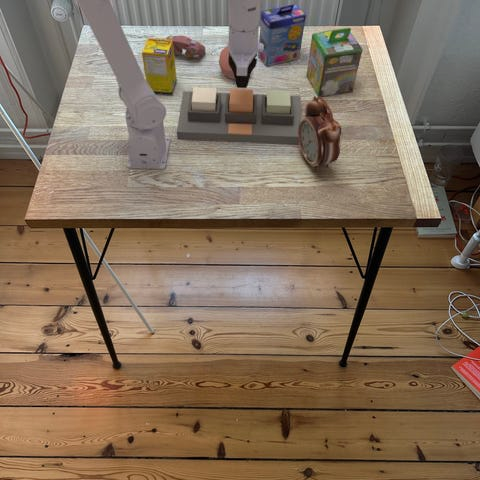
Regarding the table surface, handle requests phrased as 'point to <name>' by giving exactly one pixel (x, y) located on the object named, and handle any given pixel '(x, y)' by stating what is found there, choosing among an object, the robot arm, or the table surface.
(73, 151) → the table surface
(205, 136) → the control board
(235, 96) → the terracotta button
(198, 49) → the red toy car
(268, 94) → the sage button
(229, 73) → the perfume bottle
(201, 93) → the cream button
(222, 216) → the table surface
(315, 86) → the chalk box
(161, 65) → the supplement box
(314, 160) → the alarm clock
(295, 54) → the blue cardboard box
